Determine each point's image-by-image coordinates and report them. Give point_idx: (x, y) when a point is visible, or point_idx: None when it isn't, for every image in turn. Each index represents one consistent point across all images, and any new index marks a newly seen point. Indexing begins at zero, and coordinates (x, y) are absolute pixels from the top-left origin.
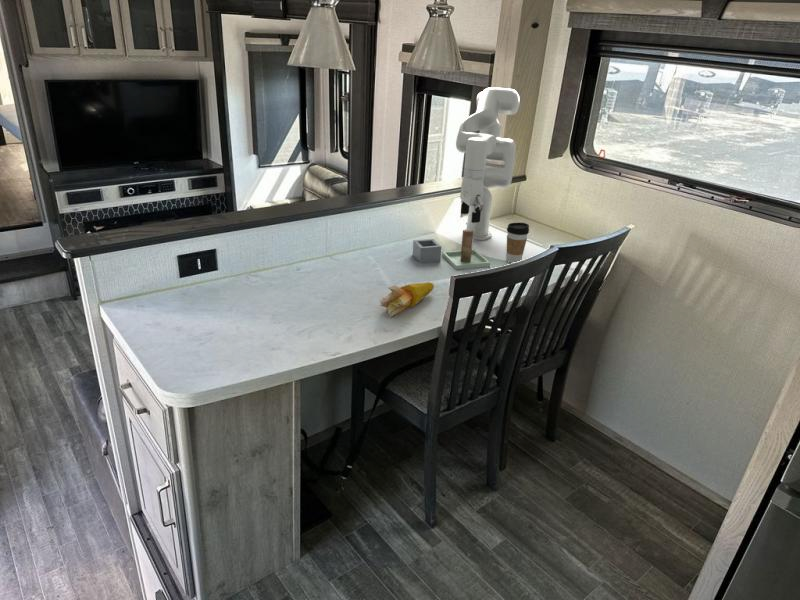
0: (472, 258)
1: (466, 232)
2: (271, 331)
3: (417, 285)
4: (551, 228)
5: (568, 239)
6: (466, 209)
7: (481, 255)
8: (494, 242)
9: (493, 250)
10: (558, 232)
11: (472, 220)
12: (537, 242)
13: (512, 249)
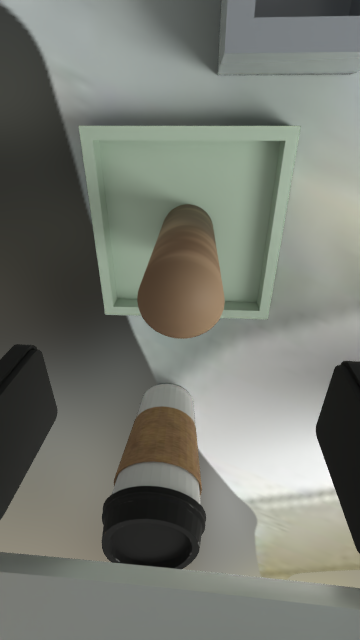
0: None
1: (153, 277)
2: None
3: None
4: (357, 563)
5: (270, 557)
6: (339, 451)
7: None
8: None
9: (278, 388)
10: (323, 562)
11: (3, 362)
12: (283, 507)
13: (138, 428)
